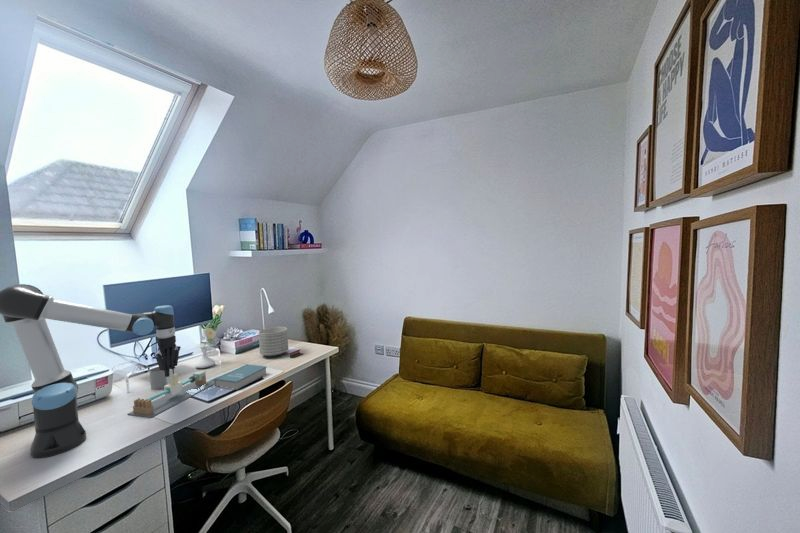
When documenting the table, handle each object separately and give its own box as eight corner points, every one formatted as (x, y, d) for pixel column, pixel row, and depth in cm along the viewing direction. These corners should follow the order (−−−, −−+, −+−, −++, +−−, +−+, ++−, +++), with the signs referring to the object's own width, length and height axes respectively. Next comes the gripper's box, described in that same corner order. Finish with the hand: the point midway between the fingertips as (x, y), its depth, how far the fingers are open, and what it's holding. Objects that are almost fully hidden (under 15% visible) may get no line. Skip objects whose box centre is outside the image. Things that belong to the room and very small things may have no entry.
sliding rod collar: (171, 395, 162) (170, 377, 161) (164, 394, 163) (163, 376, 162) (182, 390, 167) (181, 372, 167) (175, 389, 169) (174, 371, 168)
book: (236, 390, 174) (236, 381, 173) (214, 387, 179) (214, 378, 179) (266, 374, 195) (266, 366, 195) (246, 371, 200) (245, 364, 200)
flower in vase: (200, 371, 202) (198, 332, 201) (191, 367, 208) (189, 330, 207) (221, 364, 214) (219, 327, 212) (212, 361, 220) (209, 325, 218)
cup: (159, 389, 176) (157, 372, 176) (147, 389, 178) (145, 371, 177) (173, 383, 185) (171, 366, 184) (161, 382, 186) (159, 365, 186)
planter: (283, 348, 243) (281, 325, 242) (292, 355, 228) (291, 330, 227) (256, 354, 231) (255, 330, 230) (264, 361, 216) (263, 335, 215)
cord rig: (151, 417, 147) (150, 402, 146) (127, 414, 150) (126, 399, 149) (214, 384, 182) (213, 371, 181) (193, 382, 185) (192, 370, 184)
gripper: (159, 340, 154) (163, 388, 156) (183, 333, 167) (187, 377, 168) (147, 339, 156) (151, 386, 158) (172, 332, 169) (175, 376, 170)
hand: (170, 381), depth 163 cm, fingers closed
